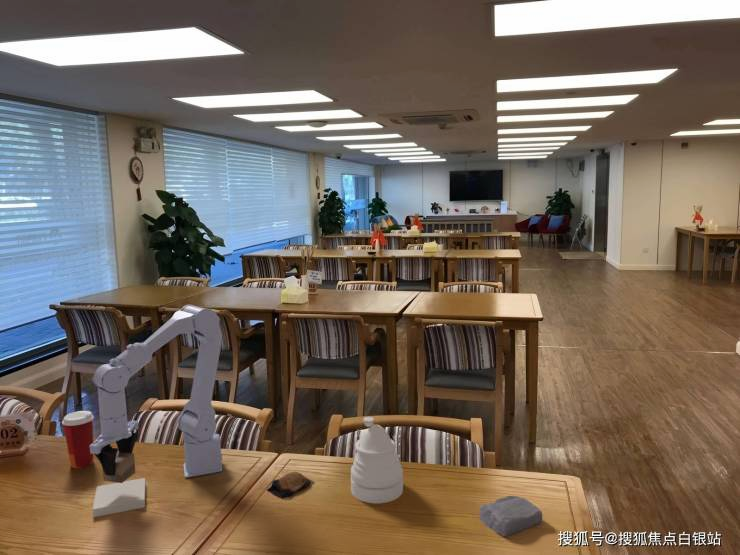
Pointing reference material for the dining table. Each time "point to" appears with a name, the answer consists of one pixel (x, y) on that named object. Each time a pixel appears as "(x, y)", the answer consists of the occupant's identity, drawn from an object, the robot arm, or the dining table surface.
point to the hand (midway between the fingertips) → (118, 469)
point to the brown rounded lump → (289, 485)
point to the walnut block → (122, 468)
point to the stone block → (510, 515)
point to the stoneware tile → (119, 497)
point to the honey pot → (376, 467)
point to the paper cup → (79, 438)
